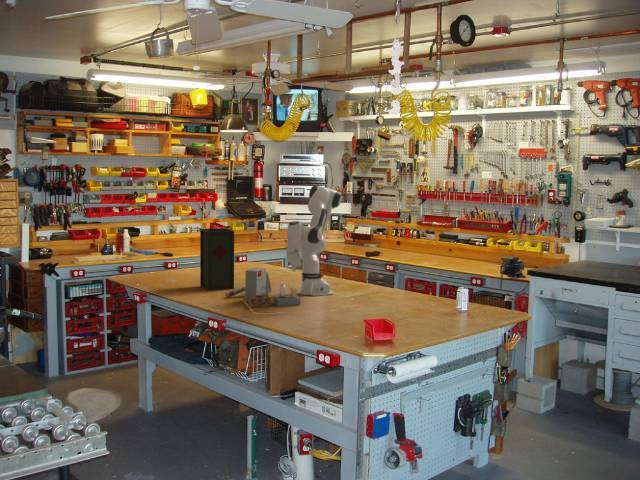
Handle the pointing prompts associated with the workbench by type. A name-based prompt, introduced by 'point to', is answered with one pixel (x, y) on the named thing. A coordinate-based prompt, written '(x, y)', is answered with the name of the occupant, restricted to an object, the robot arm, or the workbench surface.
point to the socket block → (286, 301)
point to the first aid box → (217, 259)
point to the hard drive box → (255, 282)
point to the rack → (259, 301)
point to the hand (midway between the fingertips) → (293, 271)
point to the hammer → (268, 288)
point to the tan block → (293, 292)
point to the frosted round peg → (282, 290)
